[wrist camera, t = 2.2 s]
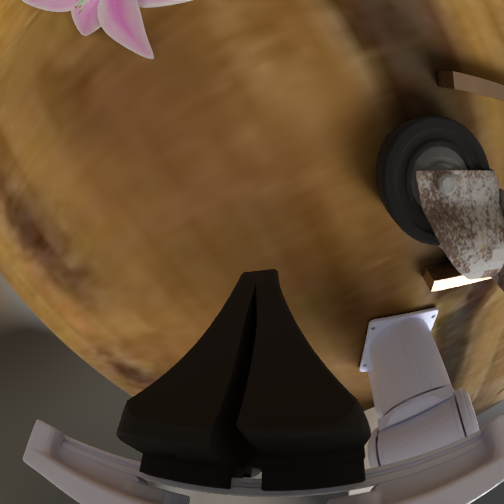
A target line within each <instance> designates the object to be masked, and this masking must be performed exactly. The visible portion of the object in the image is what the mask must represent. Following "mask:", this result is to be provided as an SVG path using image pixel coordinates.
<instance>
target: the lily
mask: <svg viewBox="0 0 504 504" xmlns="http://www.w3.org/2000/svg"><path fill="white" fill-rule="evenodd" d="M22 1H23V2H24V3H26V4H28V5H30V6H33V7H36V8H39V9H43V10H46V11H53V12H68V11H71V14H72V18H73V21H74V23H75V25H76V27H77V29H78V31H79V32H80V33H81V34H82V35H85V36H87V35H90V34H91V33H93V32H95V31H96V30H97V29H99V28H100V27H102V29H103V30H104V31H105V32H106V34H107V35H108V36H110V37H111V38H112V39H113V40H115V41H116V42H118V43H119V44H121V45H122V46H124V47H126V48H127V49H129V50H131V51H133V52H135V53H136V54H138V55H140V56H143V57H145V58H148V59H154V55H153V51H152V49H151V46H150V43H149V41H148V38H147V35H146V32H145V29H144V25H143V21H142V16H141V12H140V8H139V7H143V8H151V7H161V6H168V5H174V4H179V3H184V2H188V1H192V0H22Z"/></svg>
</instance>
